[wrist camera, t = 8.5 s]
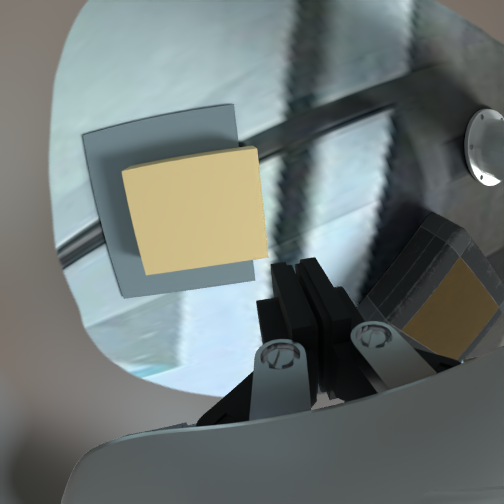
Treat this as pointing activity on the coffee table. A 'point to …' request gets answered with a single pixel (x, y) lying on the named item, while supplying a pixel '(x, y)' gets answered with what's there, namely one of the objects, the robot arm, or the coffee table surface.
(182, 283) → the mat
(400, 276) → the cash box
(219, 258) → the pale yellow block
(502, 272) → the coffee table surface
